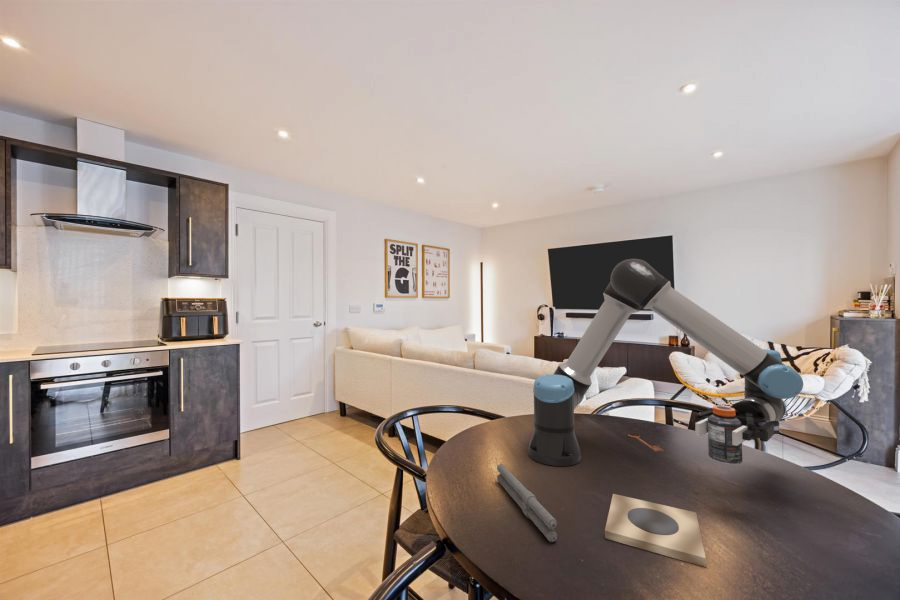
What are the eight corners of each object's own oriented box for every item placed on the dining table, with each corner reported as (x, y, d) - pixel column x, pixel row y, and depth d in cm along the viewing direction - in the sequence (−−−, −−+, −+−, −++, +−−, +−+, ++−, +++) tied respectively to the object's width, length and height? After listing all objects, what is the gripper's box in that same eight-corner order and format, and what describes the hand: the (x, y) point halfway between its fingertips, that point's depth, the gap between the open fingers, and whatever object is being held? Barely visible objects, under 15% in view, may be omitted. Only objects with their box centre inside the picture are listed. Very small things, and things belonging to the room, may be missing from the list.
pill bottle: (737, 456, 81) (737, 405, 81) (746, 467, 75) (745, 412, 75) (705, 452, 83) (704, 402, 83) (711, 462, 78) (710, 409, 78)
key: (668, 453, 112) (642, 436, 127) (668, 450, 112) (642, 433, 127) (650, 452, 112) (626, 435, 127) (650, 449, 112) (626, 432, 127)
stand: (604, 538, 70) (604, 529, 70) (613, 500, 84) (612, 492, 84) (705, 567, 62) (705, 557, 62) (696, 519, 76) (696, 511, 76)
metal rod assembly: (495, 483, 93) (495, 463, 93) (505, 481, 93) (505, 462, 93) (547, 546, 68) (547, 519, 68) (560, 544, 68) (560, 517, 69)
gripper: (803, 442, 82) (774, 468, 69) (707, 420, 97) (667, 438, 84) (803, 408, 82) (773, 428, 69) (706, 393, 98) (667, 406, 84)
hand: (715, 434), depth 76 cm, fingers closed on pill bottle, 6 cm apart
